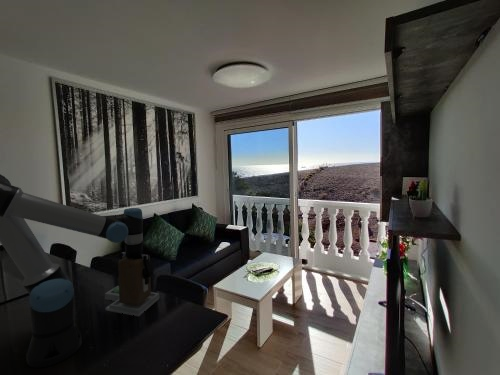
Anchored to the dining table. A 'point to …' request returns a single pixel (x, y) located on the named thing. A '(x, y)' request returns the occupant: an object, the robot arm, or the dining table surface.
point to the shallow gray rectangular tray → (133, 306)
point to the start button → (116, 290)
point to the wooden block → (132, 281)
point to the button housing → (111, 295)
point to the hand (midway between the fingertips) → (135, 289)
